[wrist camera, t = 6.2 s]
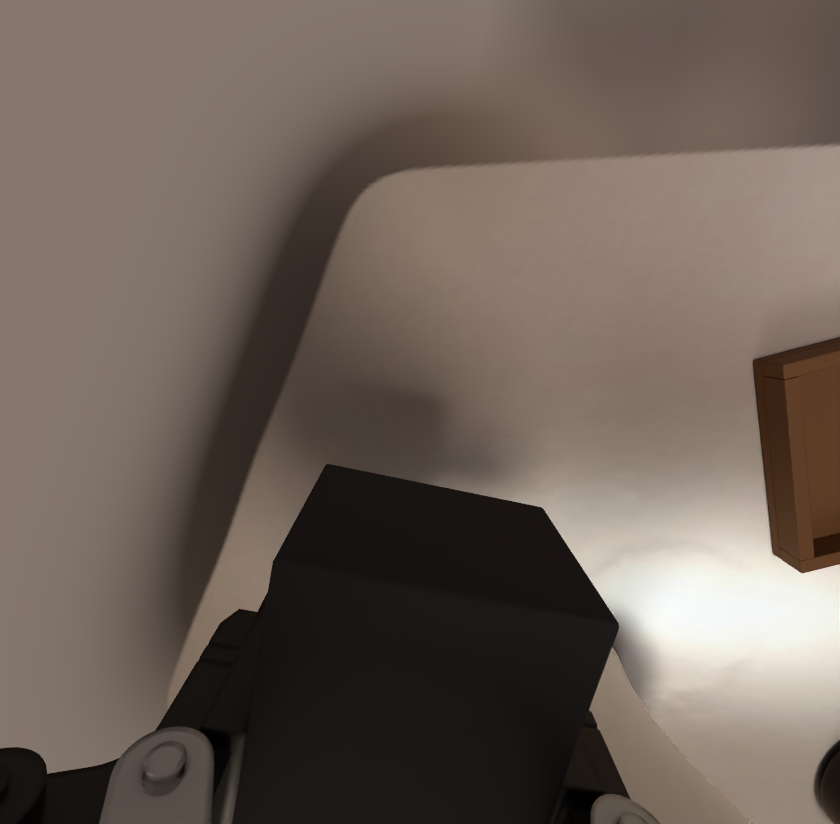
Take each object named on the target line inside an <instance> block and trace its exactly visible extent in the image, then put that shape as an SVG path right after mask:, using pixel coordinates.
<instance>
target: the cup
mask: <svg viewBox="0 0 840 824" xmlns="http://www.w3.org/2000/svg"><path fill="white" fill-rule="evenodd" d="M589 711H591V712H592V714H593V716H594V718H595V721H596V723H597V729H598V730H600V732H601V734H602V736H603V739H604V741H605V743H606V745H607V747H608V750H609V752H610V754H611V756H612V759H613V761H614V763H615V765H616V768H617V770H618V772H619V774H620V776H621V779H622V781H623V783H624V785H625V788H626V790H627V792H628V794H629V797H630V799H631V800H632V801H634V802H636V803H637V804H639V805H640V806H642V807H643V808H645V809H646V810H647V811H648V812H649V813H650V814H652V815H653V816H654V817H655V818H656V819H657V820H658V822H659V823H660V824H752V823H751V822H750V821H749V820H748V819H747V818H746V817H745V816H744V815H743V814H742V813H741V812H740V811H739V810H738V809H737V808H736V807H735V806H734V805H733V804H732V803H731V802H730V801H729V800H728V799H727V798H726V797H725V796H724V795H723V794H722V793H721V792H720V791H719V790H717V789H716V788H715V787H714V786H713V785H712V784H711V783H710V782H709V781H708V780H707V779H706V778H705V777H704V776H703V775H702V774H701V773H700V772H699V771H698V770H697V769H696V768H695V767H694V766H693V765H692V764H691V763H690V762H689V761H688V760H687V759H686V757H685V756H684V755H683V754H682V753H681V751H680V750H679V749H678V748H677V747H676V745H675V744H674V743H673V742H672V741H671V739H670V738H669V737H668V736H667V735H666V734H665V732H664V731H663V730H662V729H661V728H660V726H659V725H658V724H657V723H656V722H655V720H654V719H653V718H652V716H651V715H650V713H649V712H648V710H647V709H646V707H645V706H644V704H643V703H642V701H641V700H640V698H639V697H638V695H637V694H636V693H635V691H634V690H633V688H632V686H631V684H630V681H629V679H628V677H627V675H626V673H625V670H624V668H623V666H622V664H621V662H620V659H619V657H618V655H617V654H616V652H615V650H614V649H613V647H612V648H611V651H610V654H609V657H608V659H607V662H606V665H605V668H604V670H603V673H602V676H601V679H600V681H599V684H598V687H597V689H596V692H595V695H594V698H593V700H592V703H591V706H590V709H589Z"/></svg>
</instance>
